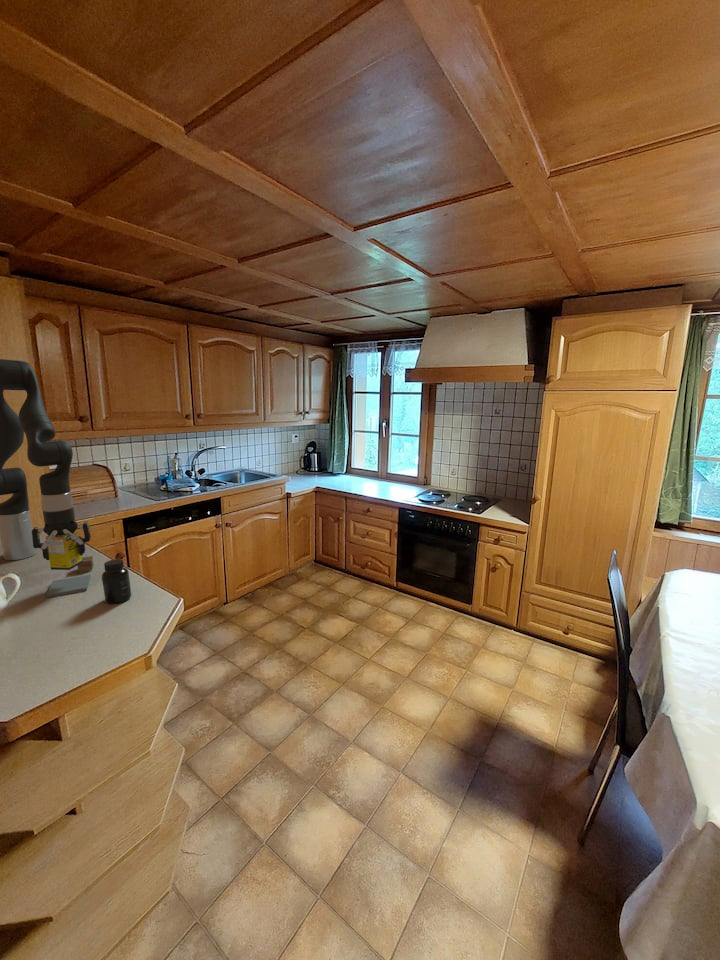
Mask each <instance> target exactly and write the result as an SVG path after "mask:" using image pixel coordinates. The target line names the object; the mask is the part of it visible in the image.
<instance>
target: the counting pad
mask: <svg viewBox="0 0 720 960" xmlns="http://www.w3.org/2000/svg"><path fill="white" fill-rule="evenodd" d="M89 580H91V575H90V574H87V575H81V576H74V577H69V578H68V577H67V578H61V579H56V580H55V579H54V580H52V582H51V584H50V586H49V588H48V590H47V592H46V594H45V596H46V598H47V597H48V598H53V597H58V596H64V594H65V595H69V594H74V593H75V594H76V593H81V592H86V591H88V588H89V587H88V586H89V583H90V581H89ZM52 596H53V597H52Z"/></svg>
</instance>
